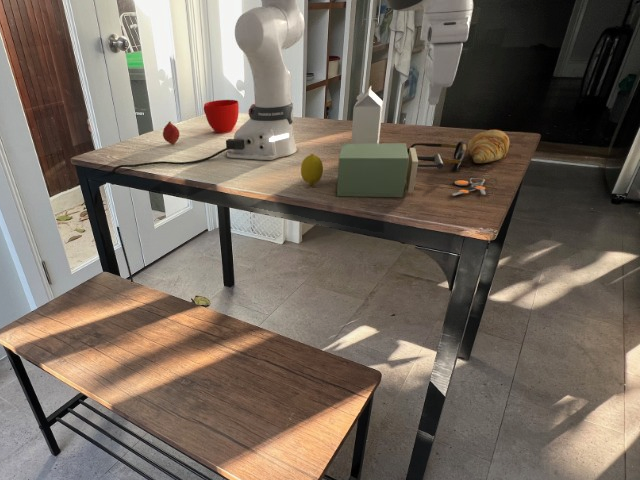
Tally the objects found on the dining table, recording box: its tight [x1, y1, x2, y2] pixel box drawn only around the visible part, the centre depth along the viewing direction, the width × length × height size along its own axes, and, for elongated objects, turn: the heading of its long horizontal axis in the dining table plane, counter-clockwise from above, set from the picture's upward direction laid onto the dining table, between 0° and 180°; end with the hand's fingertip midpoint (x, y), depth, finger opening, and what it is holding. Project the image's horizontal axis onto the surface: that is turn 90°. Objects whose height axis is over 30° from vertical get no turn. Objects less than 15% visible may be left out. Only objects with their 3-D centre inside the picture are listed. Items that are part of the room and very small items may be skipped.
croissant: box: [467, 129, 510, 164], centre depth 120 cm, size 21×10×8 cm, turn 143°
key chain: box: [451, 177, 487, 197], centre depth 102 cm, size 13×7×1 cm, turn 151°
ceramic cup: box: [203, 99, 240, 134], centre depth 167 cm, size 13×17×10 cm
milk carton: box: [350, 85, 384, 144], centre depth 121 cm, size 7×7×19 cm
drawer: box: [405, 147, 444, 194], centre depth 104 cm, size 20×11×7 cm, turn 75°
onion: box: [162, 121, 180, 146], centre depth 155 cm, size 6×6×8 cm
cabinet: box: [336, 142, 409, 198], centre depth 105 cm, size 15×12×9 cm
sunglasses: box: [407, 140, 467, 172], centre depth 118 cm, size 14×15×5 cm
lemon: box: [300, 153, 324, 186], centre depth 110 cm, size 6×6×8 cm
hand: (432, 103), depth 94 cm, fingers closed
